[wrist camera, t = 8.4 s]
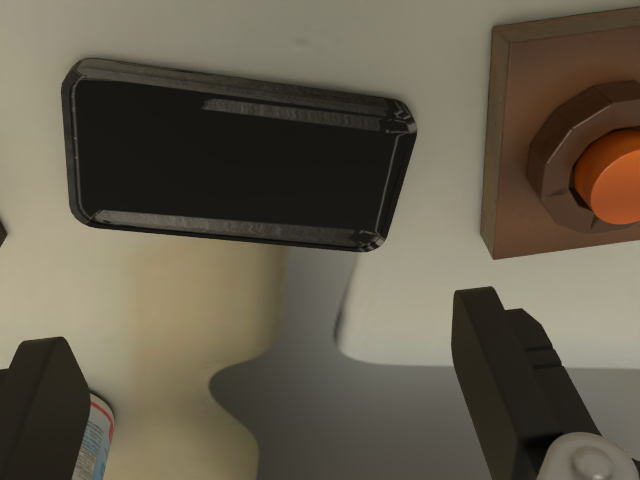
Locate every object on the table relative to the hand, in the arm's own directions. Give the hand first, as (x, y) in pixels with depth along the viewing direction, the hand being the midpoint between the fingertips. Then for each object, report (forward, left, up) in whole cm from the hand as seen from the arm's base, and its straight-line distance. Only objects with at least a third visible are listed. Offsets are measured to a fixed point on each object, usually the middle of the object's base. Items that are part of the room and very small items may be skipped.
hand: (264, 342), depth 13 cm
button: (+5, +14, -13) cm, 20 cm away
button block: (+5, +14, -16) cm, 22 cm away
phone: (+4, -2, -16) cm, 17 cm away
